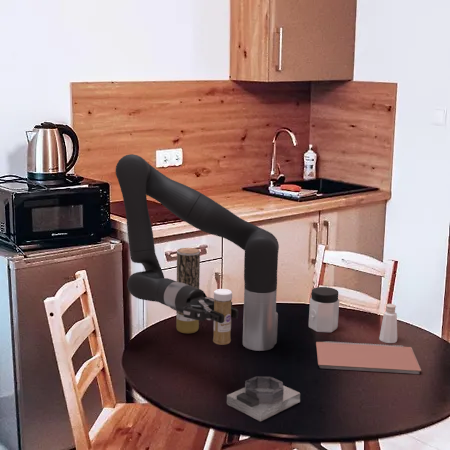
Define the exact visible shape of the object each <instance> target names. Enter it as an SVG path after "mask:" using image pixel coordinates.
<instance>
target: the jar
mask: <svg viewBox="0 0 450 450" xmlns="http://www.w3.org/2000/svg"><path fill="white" fill-rule="evenodd" d="M310 295H311V298H309V309H308V310H309V313H308V328H310V329H311V330H313V331H315V332H317V333H332V332H334V331H335V330H337V329H338V327H339V310H340V309H339V308H340V299H339V290H338V289H335V288H333V287H330V286H329V287H327V286H317V287H315V288H312V289H311V294H310Z"/></svg>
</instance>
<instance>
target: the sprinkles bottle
mask: <svg viewBox="0 0 450 450" xmlns="http://www.w3.org/2000/svg"><path fill="white" fill-rule="evenodd" d="M213 299H214V311H216V312H219V313H221V314H223V315H224V322H223V323H219V322H216V321H214V320H213V324H212V325H213V326H212V327H213V329H212V330H213V338H212V342H213V343H214V344H215V345H219V346H220V345H222V346H223V345H224V346H225V345H228V344H230V343H231V341H232V339H231V331H232V330H231V329H232V317H231V302H232V300H233V291H232V290H231V289H228V288H218V289H215V290H214V291H213Z"/></svg>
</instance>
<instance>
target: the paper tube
mask: <svg viewBox="0 0 450 450" xmlns="http://www.w3.org/2000/svg"><path fill="white" fill-rule="evenodd" d="M200 251H201V250H200V249H198V248H195V247H181V248H177V249H176V281H177V282H180V283H185V284H188V285H190V286H193V287H196V288H198V289H200V277H201V276H200V271H201V270H200V269H201V268H200V267H201V266H200V265H201V252H200ZM175 311H176V310H175ZM175 314H176V318H175V319H176V321H175V322H176V323H175V324H176V331H177V332H179V333H182V334H194V333H196V332H198V331H199V328H200V326H199V325H200V323H199V322H200V321H199V320H195V319H190V318H186V317H184V314H183V313H180V312H178V311H176V313H175ZM198 317H200V316H198Z"/></svg>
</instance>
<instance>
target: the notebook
mask: <svg viewBox="0 0 450 450" xmlns="http://www.w3.org/2000/svg"><path fill="white" fill-rule="evenodd" d="M315 346H316V355H317V365H318V366H319V369H328V370H342V371H343V370H344V371H360V372H361V371H363V372H381V373H395V374H397V373H398V374H414V375H420V372H422V369H421V365H419V361H418V359H417V357H416V355H415V352H414V350H413V348H412V346H404V345H400V344H399V345H398V344H396V345H395V344H383V343H381V344H378V343H376V344H375V343H374V344H373V343H360V342H359V343H358V342H356V343H355V342H354V343H353V342H346V341H344V342H343V341H341V342H340V341H328V340H327V341H316V342H315Z"/></svg>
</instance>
